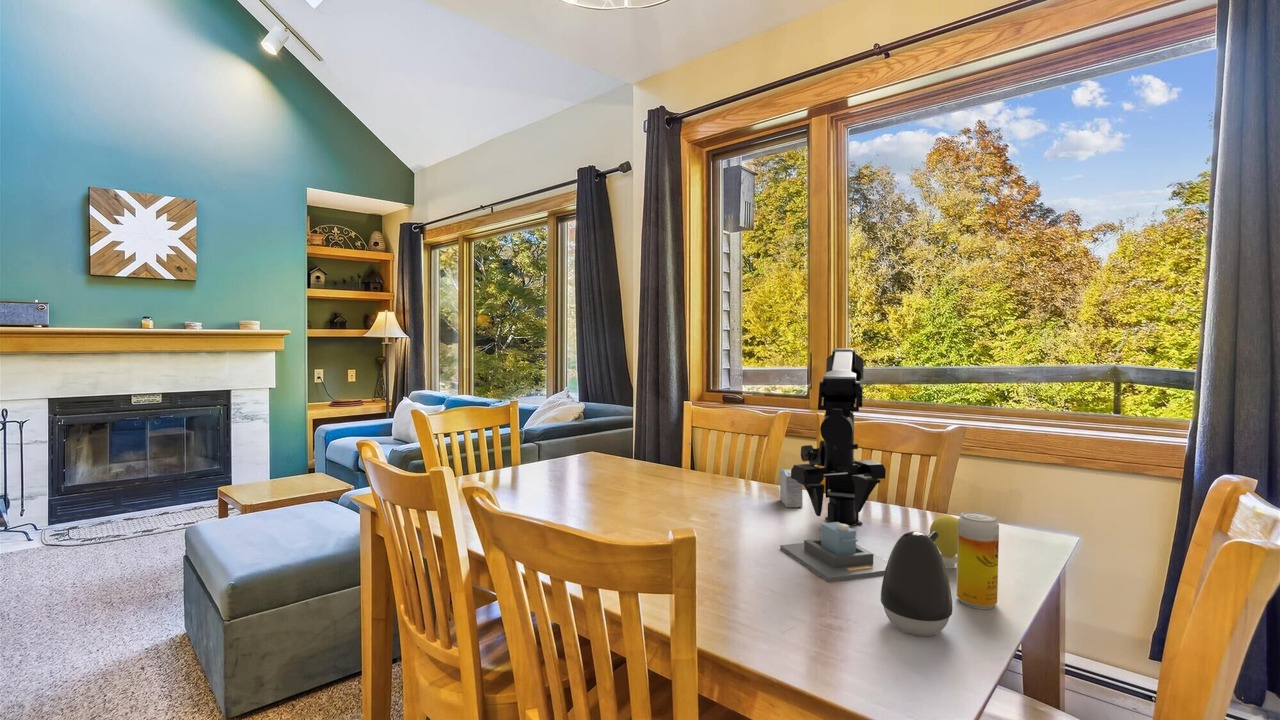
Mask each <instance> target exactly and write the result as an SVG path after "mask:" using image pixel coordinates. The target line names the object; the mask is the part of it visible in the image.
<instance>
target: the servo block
mask: <svg viewBox="0 0 1280 720" xmlns="http://www.w3.org/2000/svg"><path fill="white" fill-rule="evenodd" d="M820 525H821V527H820V528H819V530H820V538H821V547H823V548H825V549H826V550H828V551H830V552H831V553H833V554H835V555H844V554H852V553H856V544H857V542H858V538H857V532H856V531H857V530H855V529H853V528H851V527H850V526H849V525H847V524H841V523H839V522H824V523H823V522H821V523H820Z"/></svg>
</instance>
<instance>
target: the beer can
mask: <svg viewBox="0 0 1280 720" xmlns="http://www.w3.org/2000/svg"><path fill="white" fill-rule="evenodd" d="M957 519H958V548H957V554H956V556H957V563H956V565H957V567H956V596H957V598H958V599H959V601H960V602H961V604H964V605H965V606H967V607H970V608H972V607H973V608H974V609H978V610H991V609H993V607H994V606H995V605H997V604H998V589H999V588H998V585H999V583H998V582H999V548H1000V547H999V545H1000V544H999V542H1000V539H999V538H1000V524H999V523H998V520H997V517H996V516H994V515H992V514H989V513H985V512H980V511H979V512H978V511H963V512H961V513H960V515H959V517H958V518H957Z"/></svg>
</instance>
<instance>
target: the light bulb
mask: <svg viewBox="0 0 1280 720" xmlns="http://www.w3.org/2000/svg"><path fill="white" fill-rule="evenodd" d="M958 519H959V518H957V517H956V516H951V515H941V516H939V517H936V518H935V519H934V520H933V521H932V522H931V525H930V527H929V534H930V533H931V532H933V531H935V532H937V533H938V537H937V539H936V540H935V541H934V543H935V545H936V546H937V548H938V550H939V552H940V554H941V557H942V559H943V562H944V565H945V569H955V566H956V564H957V548H958Z"/></svg>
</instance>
